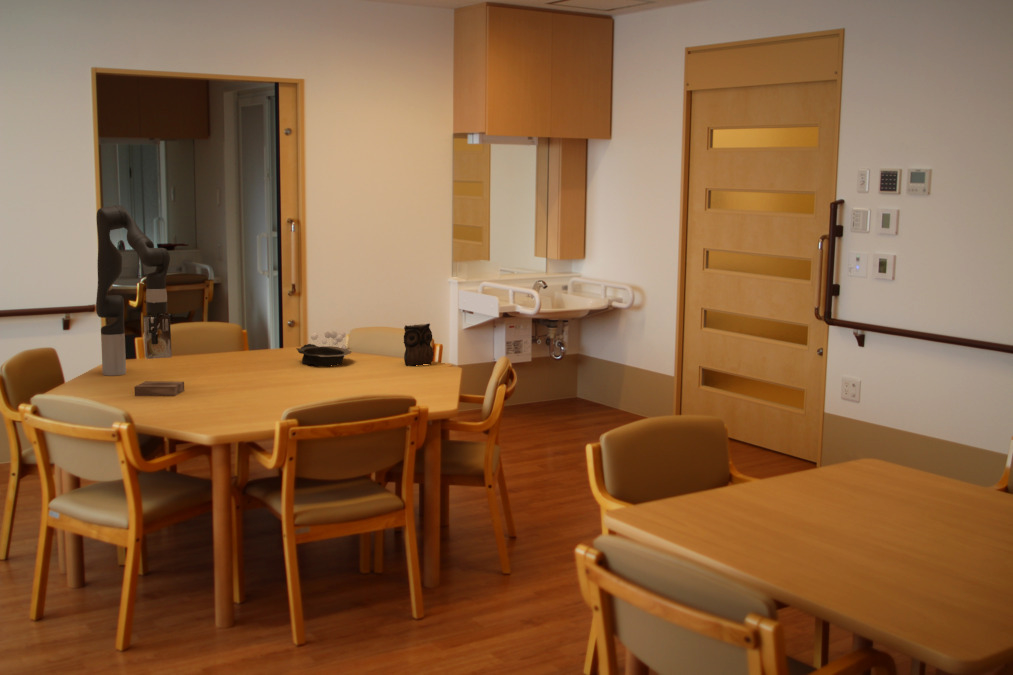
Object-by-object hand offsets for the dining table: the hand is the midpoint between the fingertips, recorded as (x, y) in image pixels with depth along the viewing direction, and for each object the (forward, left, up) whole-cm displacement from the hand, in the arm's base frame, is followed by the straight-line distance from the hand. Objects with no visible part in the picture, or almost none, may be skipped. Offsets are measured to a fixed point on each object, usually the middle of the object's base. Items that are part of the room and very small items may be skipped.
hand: (158, 342), depth 375 cm
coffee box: (0, 0, -6) cm, 6 cm away
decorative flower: (-96, +52, -20) cm, 111 cm away
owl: (-66, +97, -20) cm, 119 cm away
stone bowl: (-68, +55, -20) cm, 90 cm away
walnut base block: (0, 0, -20) cm, 20 cm away
